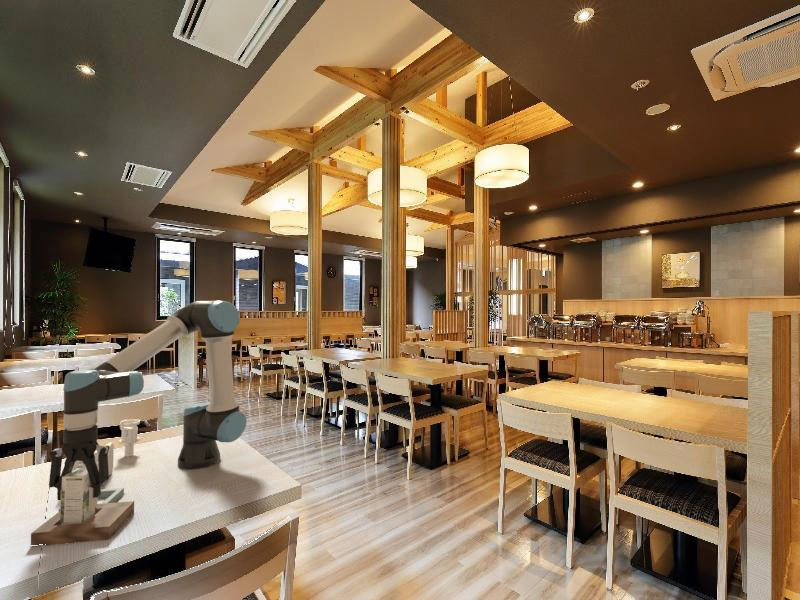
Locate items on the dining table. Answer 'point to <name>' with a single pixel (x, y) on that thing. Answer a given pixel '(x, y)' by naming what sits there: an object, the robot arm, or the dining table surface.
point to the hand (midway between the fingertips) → (79, 509)
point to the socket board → (85, 526)
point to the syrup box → (75, 498)
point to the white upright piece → (129, 435)
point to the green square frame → (111, 495)
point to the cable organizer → (110, 460)
